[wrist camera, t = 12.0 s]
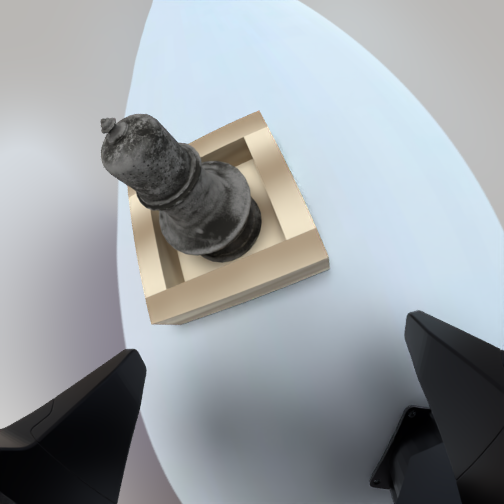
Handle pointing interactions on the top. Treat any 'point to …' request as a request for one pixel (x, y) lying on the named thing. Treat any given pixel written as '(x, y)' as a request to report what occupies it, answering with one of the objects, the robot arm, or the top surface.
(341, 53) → the top surface
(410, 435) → the robot arm
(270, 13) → the top surface
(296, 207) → the shaker caddy
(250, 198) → the weathered stone finial
